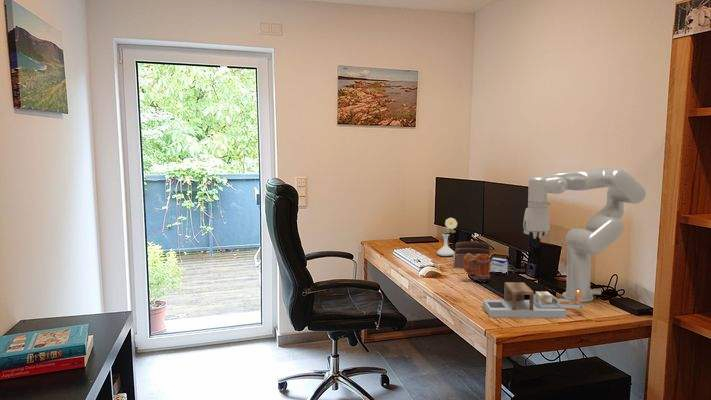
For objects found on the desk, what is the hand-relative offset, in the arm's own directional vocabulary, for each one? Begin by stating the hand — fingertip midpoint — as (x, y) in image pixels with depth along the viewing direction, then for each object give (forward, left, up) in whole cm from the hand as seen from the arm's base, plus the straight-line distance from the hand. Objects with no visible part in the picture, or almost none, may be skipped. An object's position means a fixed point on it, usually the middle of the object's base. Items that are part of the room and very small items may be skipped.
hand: (536, 247), depth 196 cm
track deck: (+9, +13, -25) cm, 29 cm away
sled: (-5, +13, -21) cm, 26 cm away
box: (+4, -46, -25) cm, 53 cm away
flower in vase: (+26, -91, -25) cm, 98 cm away
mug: (+19, -31, -25) cm, 44 cm away
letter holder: (+15, -63, -25) cm, 69 cm away
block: (+1, +13, -22) cm, 25 cm away
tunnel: (+11, +13, -22) cm, 28 cm away
